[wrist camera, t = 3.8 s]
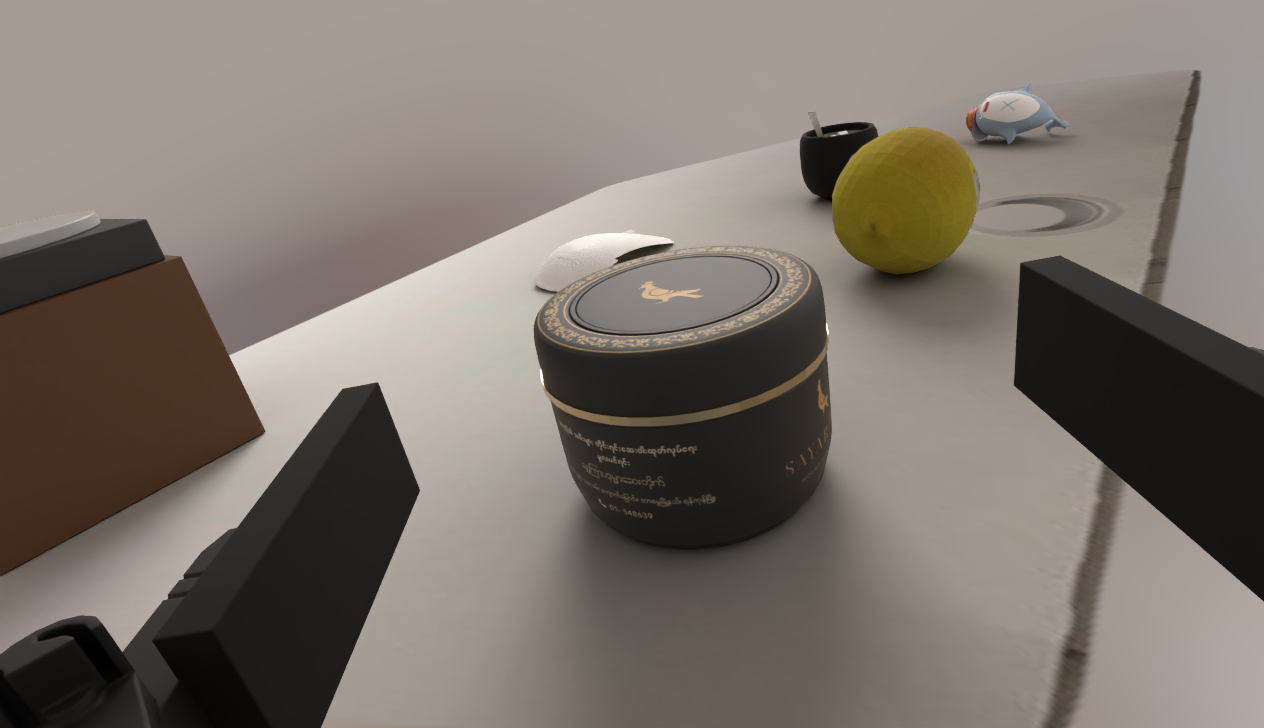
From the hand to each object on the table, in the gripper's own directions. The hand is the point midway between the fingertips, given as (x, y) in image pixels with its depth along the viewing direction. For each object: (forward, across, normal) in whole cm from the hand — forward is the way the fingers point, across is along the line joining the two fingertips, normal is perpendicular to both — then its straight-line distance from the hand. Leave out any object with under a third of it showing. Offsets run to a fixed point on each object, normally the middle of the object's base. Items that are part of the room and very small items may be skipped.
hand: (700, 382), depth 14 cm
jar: (+10, 0, -9) cm, 13 cm away
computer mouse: (+40, -4, -9) cm, 41 cm away
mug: (+48, +18, -9) cm, 52 cm away
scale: (+19, -31, -9) cm, 38 cm away
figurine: (+55, +35, -9) cm, 66 cm away
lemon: (+28, +15, -9) cm, 33 cm away
